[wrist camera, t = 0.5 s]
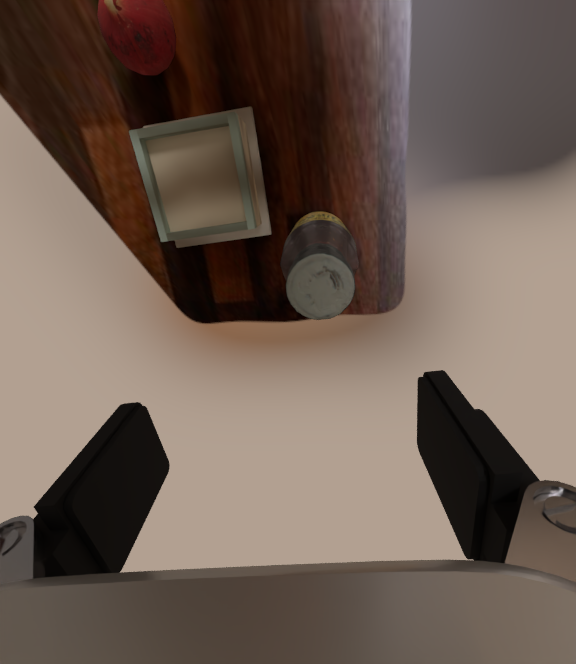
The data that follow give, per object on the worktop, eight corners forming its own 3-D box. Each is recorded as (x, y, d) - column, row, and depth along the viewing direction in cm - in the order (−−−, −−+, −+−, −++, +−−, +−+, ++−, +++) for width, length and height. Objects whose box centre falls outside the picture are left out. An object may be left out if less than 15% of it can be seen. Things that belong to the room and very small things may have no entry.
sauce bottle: (347, 210, 35) (395, 231, 17) (343, 267, 37) (380, 339, 19) (288, 209, 35) (271, 229, 17) (287, 266, 38) (272, 335, 19)
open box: (147, 128, 32) (114, 114, 27) (252, 108, 31) (241, 90, 26) (179, 246, 37) (157, 256, 32) (271, 233, 36) (265, 241, 30)
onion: (200, 64, 30) (166, 24, 23) (152, 98, 31) (105, 70, 24) (164, -8, 28) (115, -78, 21) (114, 31, 29) (51, -22, 22)
